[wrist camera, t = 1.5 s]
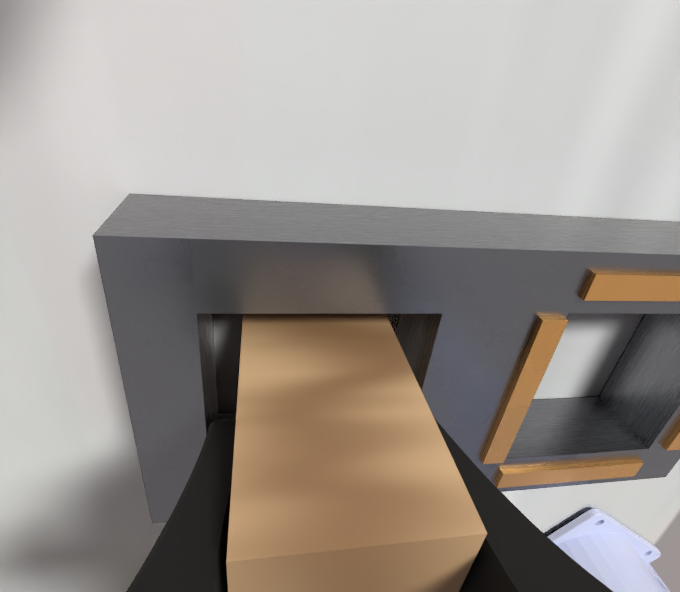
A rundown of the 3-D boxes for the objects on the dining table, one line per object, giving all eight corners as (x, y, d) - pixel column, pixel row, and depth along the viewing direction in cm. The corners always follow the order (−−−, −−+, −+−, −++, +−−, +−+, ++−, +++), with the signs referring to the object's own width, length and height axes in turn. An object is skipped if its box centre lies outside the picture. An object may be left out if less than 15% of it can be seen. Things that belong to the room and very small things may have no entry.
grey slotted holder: (740, 225, 15) (840, 262, 12) (616, 424, 20) (669, 481, 17) (129, 193, 11) (89, 239, 8) (168, 451, 16) (150, 528, 13)
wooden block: (375, 291, 14) (487, 533, 7) (359, 387, 16) (432, 644, 9) (244, 290, 13) (226, 562, 6) (245, 391, 15) (233, 676, 8)
